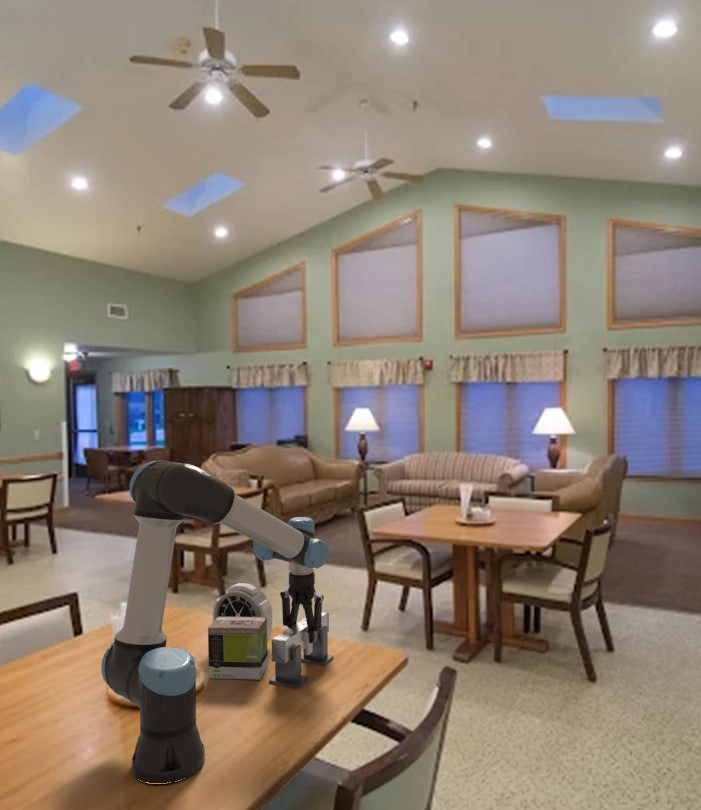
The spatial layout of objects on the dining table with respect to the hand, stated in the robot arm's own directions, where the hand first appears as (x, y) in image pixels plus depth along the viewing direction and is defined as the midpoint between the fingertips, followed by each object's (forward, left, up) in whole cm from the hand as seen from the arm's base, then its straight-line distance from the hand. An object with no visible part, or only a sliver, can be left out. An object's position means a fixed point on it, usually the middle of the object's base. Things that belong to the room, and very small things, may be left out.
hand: (302, 651), depth 182 cm
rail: (0, 0, +2) cm, 2 cm away
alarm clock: (+6, +25, -6) cm, 26 cm away
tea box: (-9, +16, -6) cm, 19 cm away
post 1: (-8, 0, -5) cm, 9 cm away
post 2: (+8, 0, -5) cm, 10 cm away
